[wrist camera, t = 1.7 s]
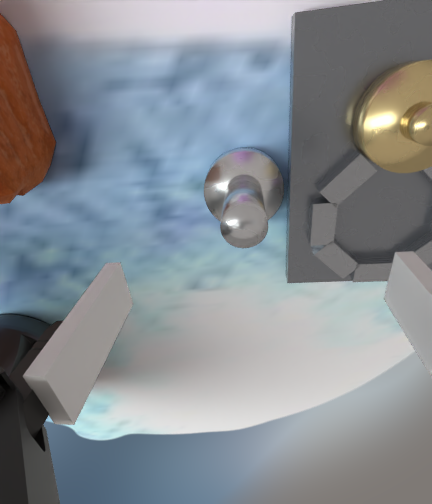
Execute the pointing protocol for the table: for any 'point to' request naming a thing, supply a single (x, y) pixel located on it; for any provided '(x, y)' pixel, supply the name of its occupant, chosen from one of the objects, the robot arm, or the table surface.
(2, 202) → the bread
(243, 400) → the table surface
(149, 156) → the table surface
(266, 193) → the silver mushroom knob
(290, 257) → the carrier plate
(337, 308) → the table surface
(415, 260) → the robot arm
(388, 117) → the gold cymbal
